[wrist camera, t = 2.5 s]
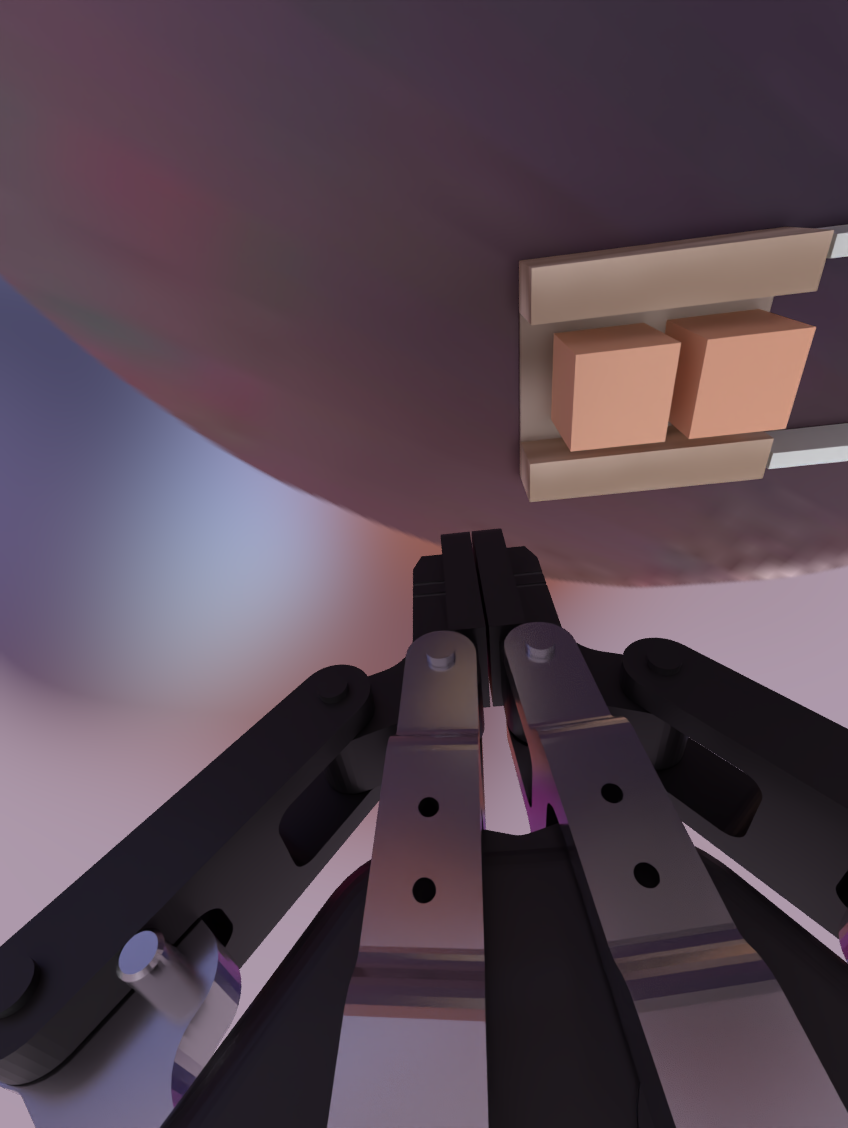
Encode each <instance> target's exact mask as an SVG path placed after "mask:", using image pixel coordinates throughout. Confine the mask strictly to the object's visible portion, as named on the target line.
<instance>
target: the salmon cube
mask: <svg viewBox="0 0 848 1128" xmlns="http://www.w3.org/2000/svg"><path fill="white" fill-rule="evenodd" d="M815 329H816V327H815V326H812V325H808V324H805V323H802V322H799V321H796V320H793V319H789V318H786V317H783V316H780V315H777V314H774V313H770V312H767V311H764V310H761V309H754V310H746V311H737V312H729V313H721V314H712V315H704V316H695V317H687V318H679V319H670V320H667V322H666V329H665V334H666V335H668V336H670V337H672V338H673V339H675V340H677V341H679V342H681V347H680V353H679V360H678V366H677V372H676V378H675V384H674V390H673V396H672V402H671V408H670V414H669V420H668V421H669V422H670V423H671V424H672V425H673V426H675V427H676V428H677V429H678V430H679V431H680V432H681V433H683V434H684V435H685V436H686V437H687V438H688V439H694V438H703V437H713V436H722V435H732V434H741V433H750V432H760V431H769V430H778V429H786V426H787V423H788V419H789V416H790V413H791V409H792V406H793V403H794V399H795V396H796V393H797V389H798V386H799V383H800V379H801V376H802V373H803V369H804V366H805V363H806V359H807V356H808V353H809V349H810V346H811V343H812V339H813V336H814V333H815Z"/></svg>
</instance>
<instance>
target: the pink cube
mask: <svg viewBox="0 0 848 1128" xmlns="http://www.w3.org/2000/svg"><path fill="white" fill-rule="evenodd" d="M680 347H681V342H679V341H677V340H675V339H673V338H672V337H670V336H668V335H666V334H664V333H662V332H660V331H659V330H657V329H655V328H653V327H651V326H649V325H647V324H646V323H637V324H628V325H620V326H611V327H603V328H595V329H586V330H578V331H570V332H561V333H554V340H553V373H552V405H551V420H552V422H553V424H554V425H555V427H556V429H557V430H558V432H559V434H560V435H561V437H562V438H563V440H564V442H565V443H566V445H567V447H568V448H569V450H570V451H571V452H572V451H582V450H591V449H600V448H610V447H619V446H628V445H638V444H647V443H657V442H665V439H666V433H667V427H668V420H669V414H670V408H671V402H672V396H673V390H674V384H675V378H676V372H677V366H678V360H679V353H680Z"/></svg>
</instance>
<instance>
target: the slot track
mask: <svg viewBox="0 0 848 1128" xmlns="http://www.w3.org/2000/svg"><path fill="white" fill-rule="evenodd" d="M833 233H834V230H828V229H814V228H799V227H779V228H772V229H764V230H756V231H748V232H740V233H732V234H724V235H717V236H709V237H701V238H693V239H685V240H677V241H669V242H662V243H654V244H646V245H638V246H630V247H622V248H614V249H607V250H599V251H591V252H583V253H575V254H567V255H559V256H551V257H544V258H536V259H528V260H520V261H519V391H520V477H521V480H522V482H523V485H524V488H525V490H526V493H527V496H528V499H529V501H530V502H536V501H546V500H556V499H566V498H576V497H585V496H595V495H605V494H615V493H625V492H634V491H644V490H654V489H664V488H674V487H684V486H693V485H703V484H713V483H723V482H733V481H742V480H752V479H762V478H763V475H764V471H765V468H766V464H767V461H768V457H769V454H770V451H771V447H772V444H773V440H774V438H773V437H771V436H770V435H768V434H767V433H765V432H764V431H760V432H750V433H741V434H732V435H722V436H713V437H703V438H694V439H688V438H687V437H686V436H685V435H684V434H683V433H681V432H680V431H679V430H678V429H677V428H676V427H675V426H673V425H672V424H671V423H670V422H669V421H668V427H667V433H666V439H665V442H657V443H647V444H638V445H628V446H619V447H610V448H600V449H591V450H582V451H572V452H571V451H570V450H569V448H568V447H567V445H566V443H565V442H564V440H563V438H562V437H561V435H560V434H559V432H558V430H557V429H556V427H555V425H554V424H553V422H552V420H551V405H552V373H553V340H554V333H561V332H570V331H578V330H586V329H595V328H603V327H611V326H620V325H628V324H637V323H646V324H647V325H649V326H651V327H653V328H655V329H657V330H659V331H660V332H662V333H664V334H665V329H666V322H667V320H670V319H679V318H687V317H695V316H704V315H712V314H721V313H729V312H737V311H746V310H754V309H761V310H764V311H767V312H770V309H771V305H772V301H773V297H774V296H779V295H787V294H796V293H804V292H812V291H817V288H818V285H819V281H820V278H821V275H822V271H823V268H824V264H825V261H826V257H827V254H828V250H829V247H830V244H831V240H832V237H833Z"/></svg>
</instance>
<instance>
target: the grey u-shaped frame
mask: <svg viewBox="0 0 848 1128" xmlns="http://www.w3.org/2000/svg"><path fill="white" fill-rule="evenodd" d="M815 229H828V230H834V233H833V237H832V240H831V244H830V247H829V250H828V254H827V257H826V258H838V257H846V256H848V224H847V225H839V226H831V227H823V228H815ZM765 433H767V434H768V435H770V436H771V437H773V438H774V440H773V444H772V447H771V451H770V454H769V457H768V461H767V464H766V467H767V468H768V469H774V468H784V467H793V466H803V465H813V464H822V463H832V462H842V461H848V423H844V424H834V425H825V426H816V427H806V428H797V429H787V430H778V431H769V432H765Z"/></svg>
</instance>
